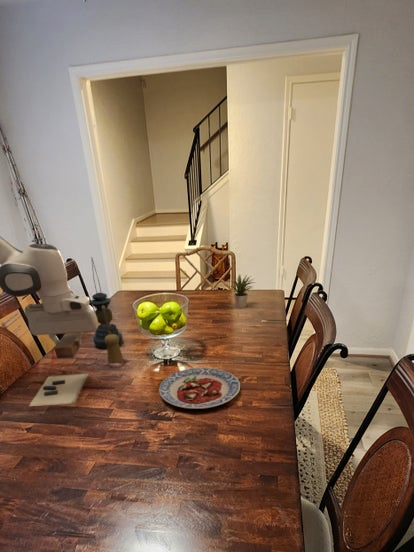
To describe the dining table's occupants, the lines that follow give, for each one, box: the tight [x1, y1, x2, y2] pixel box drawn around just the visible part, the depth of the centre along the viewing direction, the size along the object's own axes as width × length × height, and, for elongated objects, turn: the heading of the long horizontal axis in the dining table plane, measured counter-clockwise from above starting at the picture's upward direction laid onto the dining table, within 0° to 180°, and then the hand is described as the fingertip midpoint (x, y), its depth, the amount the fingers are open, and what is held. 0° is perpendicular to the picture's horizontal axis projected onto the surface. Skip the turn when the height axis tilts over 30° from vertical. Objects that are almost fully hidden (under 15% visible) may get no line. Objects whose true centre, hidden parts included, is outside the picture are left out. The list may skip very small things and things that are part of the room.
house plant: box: [229, 274, 256, 309], centre depth 187 cm, size 14×14×16 cm
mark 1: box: [43, 386, 56, 390], centre depth 122 cm, size 4×1×1 cm, turn 83°
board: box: [28, 373, 89, 407], centre depth 123 cm, size 14×20×1 cm
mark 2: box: [44, 390, 58, 396], centre depth 119 cm, size 4×1×1 cm, turn 103°
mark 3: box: [52, 380, 65, 385], centre depth 125 cm, size 4×1×1 cm, turn 103°
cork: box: [104, 334, 125, 365], centre depth 138 cm, size 6×6×11 cm
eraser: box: [53, 333, 84, 360], centre depth 117 cm, size 5×12×4 cm, turn 3°
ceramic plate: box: [158, 367, 241, 410], centre depth 118 cm, size 26×26×3 cm
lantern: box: [89, 256, 123, 350], centre depth 147 cm, size 14×12×35 cm
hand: (69, 345), depth 117 cm, fingers closed on eraser, 5 cm apart
